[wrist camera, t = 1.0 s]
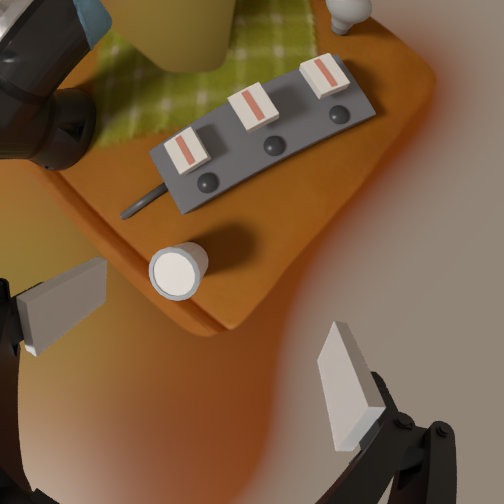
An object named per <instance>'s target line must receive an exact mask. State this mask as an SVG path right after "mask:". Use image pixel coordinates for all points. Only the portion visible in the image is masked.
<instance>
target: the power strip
mask: <svg viewBox="0 0 504 504" xmlns="http://www.w3.org/2000/svg"><path fill="white" fill-rule="evenodd" d="M332 58H333V59H334V60H335V62H336V63H337V65H338V66H339V67H340V69H341V70H342V72H343V73H344V74H345V76H346V77H347V79H348V80H349V82H350V84H349V85H348V87H347V88H346V89H344V90H341V91H339V92H336V93H334V94H331V95H329V96H326V97H324V98H322V99H318V97H317V96H316V94H315V93H314V91H313V90H312V88H311V87H310V85H309V84H308V82H307V81H306V79H305V78H304V76H303V75H302V74H301V72H300V71H299V68H298V69H295V70H293V71H291V72H288V73H286V74H284V75H281V76H279V77H277V78H275V79H273V80H270V81H268V82H266V83H264V84H262V85H261V86H262V88H263V89H264V91H265V92H266V94H267V95H268V97H269V99H270V100H271V102H272V103H273V105H274V106H275V108H276V109H277V111H278V113H279V118H278V119H276V120H274V121H272V122H270V123H268V124H266V125H264V126H263V127H261V128H259V129H257V130H255V131H253V132H251V133H249V134H248V132H247V130H246V128H245V127H244V125H243V124H242V122H241V120H240V119H239V117H238V115H237V114H236V112H235V110H234V109H233V107H232V106H231V104H230V102H227V103H225V104H223V105H221V106H220V107H218V108H216V109H214V110H213V111H211V112H209V113H207V114H206V115H204V116H202V117H201V118H199V119H197V120H196V121H194V122H192V123H191V124H189V125H188V126H186V127H185V128H183V129H181V130H180V131H178V132H177V133H175V134H174V135H172V136H171V137H169V138H168V139H166V140H165V141H163V142H162V143H160V144H159V145H158V146H156V147H155V148H153V149H152V150H151V151H149V154H150V156H151V158H152V160H153V161H154V163H155V165H156V167H157V169H158V171H159V173H160V175H161V177H162V179H163V181H164V183H162V184H161V185H159V186H158V187H157V188H155V189H154V190H152V191H151V192H149V193H148V194H147V195H145V196H144V197H142V198H141V199H140V200H138V201H137V202H135V203H134V204H133V205H131V206H130V207H129V208H127V209H126V210H125V211H123V212H122V213H121V215H120V217H121V219H123V220H125V219H127V218H128V217H130V216H131V215H132V214H134V213H135V212H136V211H138V210H139V209H141V208H142V207H143V206H145V205H146V204H148V203H149V202H151V201H152V200H153V199H155V198H156V197H158V196H159V195H161V194H162V193H164V192H165V191H167V190H169V192H170V194H171V196H172V197H173V199H174V201H175V203H176V205H177V207H178V208H179V210H180V212H181V214H182V215H183V214H187V213H190V212H191V211H193V210H195V209H196V208H198V207H200V206H201V205H203V204H205V203H206V202H208V201H210V200H211V199H213V198H215V197H217V196H218V195H220V194H222V193H224V192H225V191H227V190H229V189H231V188H232V187H234V186H236V185H238V184H239V183H241V182H243V181H245V180H247V179H248V178H250V177H252V176H254V175H256V174H258V173H259V172H261V171H263V170H265V169H267V168H269V167H271V166H273V165H274V164H276V163H278V162H280V161H282V160H284V159H286V158H288V157H290V156H292V155H294V154H296V153H298V152H300V151H302V150H304V149H306V148H308V147H310V146H312V145H314V144H316V143H318V142H320V141H322V140H324V139H326V138H329V137H331V136H333V135H335V134H337V133H339V132H341V131H344V130H346V129H348V128H350V127H352V126H355V125H357V124H359V123H361V122H364V121H366V120H368V119H370V118H371V117H373V116H374V115H376V112H375V111H374V109H373V107H372V106H371V104H370V102H369V101H368V99H367V97H366V96H365V94H364V93H363V91H362V90H361V88H360V86H359V85H358V83H357V82H356V80H355V79H354V77H353V76H352V74H351V73H350V72H349V70H348V69H347V67H346V66H345V65H344V63H343V62H342V60H341V59H340V58H339V56H338V55H337V54H335V55H332ZM190 126H191V127H192V128H193V129H195V130H196V132H197V134H198V136H199V137H200V139H201V141H202V143H203V145H204V146H205V148H206V150H207V152H208V153H209V155H210V157H211V160H209V161H207V162H206V163H204V164H202V165H201V166H199V167H197V168H196V169H194V170H193V171H191V172H189V173H188V174H186V175H180V174H179V172H178V170H177V168H176V167H175V165H174V163H173V161H172V159H171V157H170V155H169V154H168V152H167V150H166V148H165V146H164V143H166V142H167V141H169V140H170V139H172V138H173V137H175V136H176V135H178V134H179V133H181V132H182V131H184V130H185V129H187V128H189V127H190Z"/></svg>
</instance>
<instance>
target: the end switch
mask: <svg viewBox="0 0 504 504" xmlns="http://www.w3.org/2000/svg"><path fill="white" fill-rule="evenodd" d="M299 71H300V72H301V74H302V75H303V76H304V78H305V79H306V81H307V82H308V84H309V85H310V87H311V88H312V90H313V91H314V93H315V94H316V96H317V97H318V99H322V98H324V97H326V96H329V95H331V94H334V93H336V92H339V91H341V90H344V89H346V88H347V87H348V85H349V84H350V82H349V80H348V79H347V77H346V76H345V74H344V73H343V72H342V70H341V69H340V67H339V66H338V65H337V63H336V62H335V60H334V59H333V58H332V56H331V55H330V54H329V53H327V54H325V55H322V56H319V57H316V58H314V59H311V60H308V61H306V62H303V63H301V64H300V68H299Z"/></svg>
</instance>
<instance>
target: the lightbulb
mask: <svg viewBox="0 0 504 504" xmlns="http://www.w3.org/2000/svg"><path fill="white" fill-rule="evenodd" d="M326 5H327V8H328V10H329V11H330V13H331V14H332V26H331V29H332V31H333V32H335V33H336V34H339V35H344V34H346V33H347V32H348V30H349V29H350V28H351V27H352V26H353V25H354V24H356V23H360V22H363V21H365V20H366V19H367V18H368V17H369V16H370V14H371V12H372V4H371V1H370V0H326Z"/></svg>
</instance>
